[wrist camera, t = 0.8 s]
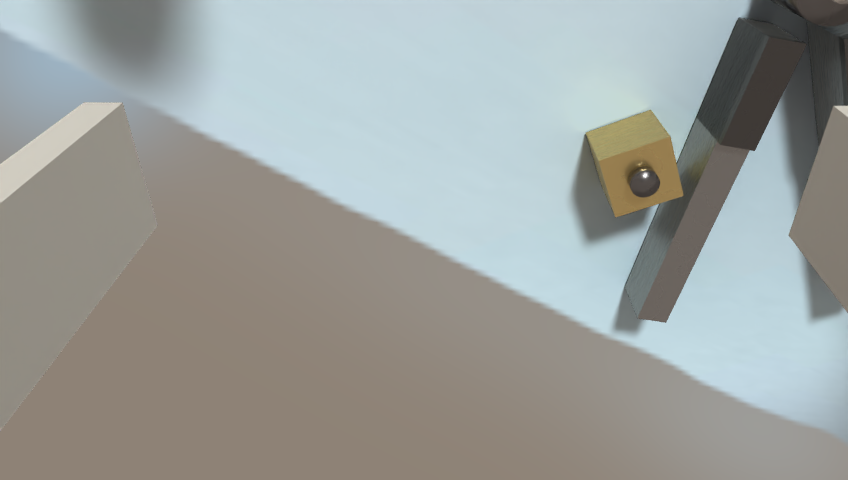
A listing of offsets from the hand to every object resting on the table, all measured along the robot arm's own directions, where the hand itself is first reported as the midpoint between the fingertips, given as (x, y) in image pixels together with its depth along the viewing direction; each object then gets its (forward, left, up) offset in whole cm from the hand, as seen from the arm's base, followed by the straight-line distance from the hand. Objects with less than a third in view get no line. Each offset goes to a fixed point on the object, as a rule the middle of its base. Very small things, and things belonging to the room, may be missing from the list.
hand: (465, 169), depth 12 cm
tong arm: (-9, +18, -26) cm, 33 cm away
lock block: (-6, +15, -26) cm, 31 cm away
